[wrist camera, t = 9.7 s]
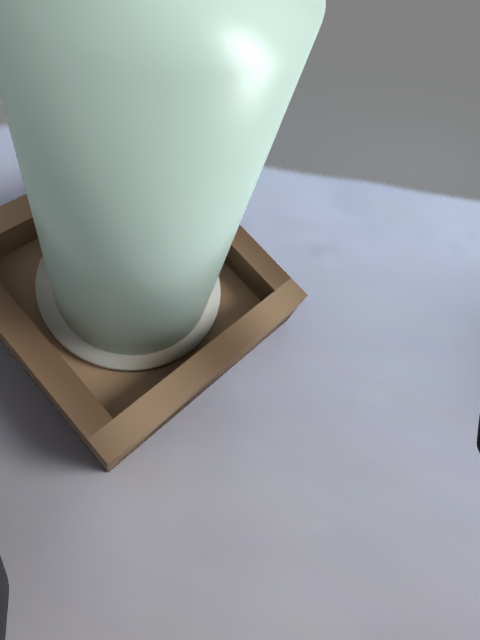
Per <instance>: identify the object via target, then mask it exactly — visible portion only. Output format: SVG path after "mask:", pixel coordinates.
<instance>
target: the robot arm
mask: <svg viewBox="0 0 480 640" xmlns="http://www.w3.org/2000/svg"><path fill="white" fill-rule="evenodd" d="M477 447H478V450H479V452H480V416H479V425H478V435H477ZM8 598H9V584H8V577H7V574H6V571H5V568H4V565H3V562H2V559H1V556H0V640H5V635H6V623H7V610H8Z"/></svg>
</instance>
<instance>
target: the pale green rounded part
mask: <svg viewBox="0 0 480 640" xmlns="http://www.w3.org/2000/svg"><path fill="white" fill-rule="evenodd" d="M325 6H326V0H0V95H1V99H2V103H3V107H4V111H5V114H6V118H7V122H8V126H9V129H10V133H11V137H12V141H13V144H14V148H15V152H16V156H17V160H18V163H19V167H20V171H21V175H22V178H23V182H24V186H25V190H26V193H27V197H28V201H29V205H30V208H31V212H32V216H33V220H34V223H35V227H36V231H37V235H38V239H39V242H40V246H41V250H42V254H43V257H44V261H45V265H46V269H47V272H48V276H49V280H50V284H51V287H52V291H53V295H54V299H55V302H56V305H57V308H58V311H59V313H60V315H61V317H62V318H63V320H64V321H65V323H66V324H67V325H68V327H69V328H70V329H71V330H72V331H73V332H74V333H75V334H76V335H78V336H79V337H80V338H81V339H82V340H84V341H86V342H87V343H89V344H90V345H92V346H94V347H97V348H99V349H101V350H104V351H107V352H111V353H115V354H121V355H146V354H151V353H155V352H159V351H162V350H165V349H167V348H169V347H171V346H173V345H175V344H176V343H178V342H180V341H181V340H182V339H184V338H185V337H186V336H187V335H188V334H189V333H190V332H191V331H192V330H193V329H194V328H195V327H196V325H197V324H198V322H199V321H200V319H201V317H202V315H203V313H204V310H205V308H206V305H207V303H208V300H209V298H210V295H211V293H212V291H213V288H214V286H215V283H216V281H217V278H218V276H219V273H220V271H221V268H222V266H223V264H224V261H225V259H226V256H227V254H228V251H229V249H230V246H231V244H232V242H233V239H234V237H235V234H236V232H237V229H238V227H239V224H240V222H241V220H242V217H243V215H244V212H245V210H246V207H247V205H248V202H249V200H250V197H251V195H252V193H253V190H254V188H255V185H256V183H257V180H258V178H259V175H260V173H261V171H262V168H263V166H264V163H265V161H266V158H267V156H268V153H269V151H270V148H271V146H272V143H273V141H274V139H275V136H276V134H277V131H278V129H279V126H280V124H281V121H282V119H283V117H284V114H285V112H286V109H287V107H288V104H289V101H290V100H291V97H292V95H293V92H294V90H295V87H296V85H297V82H298V80H299V78H300V75H301V73H302V70H303V68H304V65H305V63H306V60H307V58H308V55H309V53H310V51H311V48H312V45H313V43H314V41H315V38H316V36H317V33H318V31H319V29H320V26H321V23H322V21H323V17H324V13H325Z"/></svg>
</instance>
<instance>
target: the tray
mask: <svg viewBox="0 0 480 640" xmlns="http://www.w3.org/2000/svg"><path fill="white" fill-rule="evenodd" d="M306 296H307V294H306V293H305V292H304V291H303V290H302V289H301V288H300V287H299V286H298V285H297V284H296V283H295V282H294V281H293V280H292V279H291V278H290V276H289V275H288V274H287V273H286V272H285V271H284V270H283V269H282V268H281V267H280V266H279V265H278V264H277V263H276V262H275V261H274V260H273V259H272V258H271V257H270V256H269V255H268V254H267V253H266V252H265V251H264V250H263V249H262V247H261V246H260V245H259V244H258V243H257V242H256V241H255V240H254V239H253V238H252V237H251V236H250V235H249V234H248V233H247V232H246V231H245V230H244V229H243V228H242V227H241V226H240V225H239V227H238V229H237V232H236V234H235V237H234V239H233V242H232V244H231V246H230V249H229V251H228V254H227V256H226V259H225V261H224V264H223V266H222V268H221V271H220V273H219V276H218V278H217V281H216V283H215V286H214V288H213V291H212V293H211V295H210V298H209V300H208V303H207V305H206V308H205V310H204V313H203V315H202V317H201V319H200V321H199V322H198V324H197V325H196V327H195V328H194V329H193V330H192V331H191V332H190V333H189V334H188V335H187V336H186V337H185V338H184V339H182V340H181V341H180V342H178V343H176V344H175V345H173V346H171V347H169V348H167V349H165V350H162V351H159V352H155V353H151V354H146V355H121V354H115V353H111V352H107V351H104V350H101V349H99V348H97V347H94V346H92V345H90V344H89V343H87V342H86V341H84V340H82V339H81V338H80V337H79V336H78V335H76V334H75V333H74V332H73V331H72V330H71V329H70V328H69V327H68V325H67V324H66V323H65V321H64V320H63V318H62V317H61V315H60V313H59V311H58V308H57V305H56V302H55V299H54V295H53V291H52V287H51V284H50V280H49V276H48V272H47V269H46V265H45V261H44V257H43V254H42V250H41V246H40V242H39V239H38V235H37V231H36V227H35V223H34V220H33V216H32V212H31V208H30V205H29V201H28V197H27V194H26V195H24V196H22V197H20V198H18V199H16V200H13V201H11V202H9V203H7V204H5V205H3V206H1V207H0V340H1V341H2V342H3V343H4V345H5V346H6V347H7V348H8V350H9V351H10V352H11V353H12V355H13V356H14V357H15V358H16V359H17V361H18V362H19V363H20V364H21V366H22V367H23V368H24V369H25V371H26V372H27V373H28V374H29V375H30V377H31V378H32V379H33V380H34V382H35V383H36V384H37V385H38V387H39V388H40V389H41V390H42V392H43V393H44V394H45V395H46V396H47V398H48V399H49V400H50V401H51V403H52V404H53V405H54V406H55V408H56V409H57V410H58V411H59V412H60V414H61V415H62V416H63V417H64V419H65V420H66V421H67V422H68V424H69V425H70V426H71V427H72V428H73V430H74V431H75V432H76V433H77V435H78V436H79V437H80V438H81V440H82V441H83V442H84V443H85V445H86V446H87V447H88V448H89V449H90V451H91V452H92V453H93V454H94V456H95V457H96V458H97V459H98V461H99V462H100V463H101V464H102V465H103V467H104V468H105V469H106V470H107V472H109V471H111V470H112V469H113V468H114V467H115V466H116V465H118V464H119V463H120V462H121V461H122V460H123V459H125V458H126V457H127V456H128V455H129V454H130V453H132V452H133V451H134V450H135V449H136V448H138V447H139V446H140V445H141V444H142V443H143V442H145V441H146V440H147V439H148V438H149V437H150V436H152V435H153V434H154V433H155V432H156V431H157V430H159V429H160V428H161V427H162V426H163V425H164V424H166V423H167V422H168V421H169V420H170V419H172V418H173V417H174V416H175V415H176V414H177V413H179V412H180V411H181V410H182V409H183V408H184V407H186V406H187V405H188V404H189V403H190V402H191V401H193V400H194V399H195V398H196V397H197V396H199V395H200V394H201V393H202V392H203V391H204V390H206V389H207V388H208V387H209V386H210V385H211V384H213V383H214V382H215V381H216V380H217V379H218V378H220V377H221V376H222V375H223V374H224V373H226V372H227V371H228V370H229V369H230V368H231V367H233V366H234V365H235V364H236V363H237V362H238V361H240V360H241V359H242V358H243V357H244V356H245V355H247V354H248V353H249V352H250V351H251V350H253V349H254V348H255V347H256V346H257V345H258V344H260V343H261V342H262V341H263V340H264V339H265V338H267V337H268V336H269V335H270V334H271V333H272V332H274V331H275V330H276V329H277V328H278V327H280V326H281V325H282V324H283V323H284V322H285V321H287V319H288V318H289V317H290V316H291V315H292V313H293V312H294V311H295V310H296V309H297V307H298V306H299V305H300V304H301V302H302V301H303V300H304V299H305V298H306Z"/></svg>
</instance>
